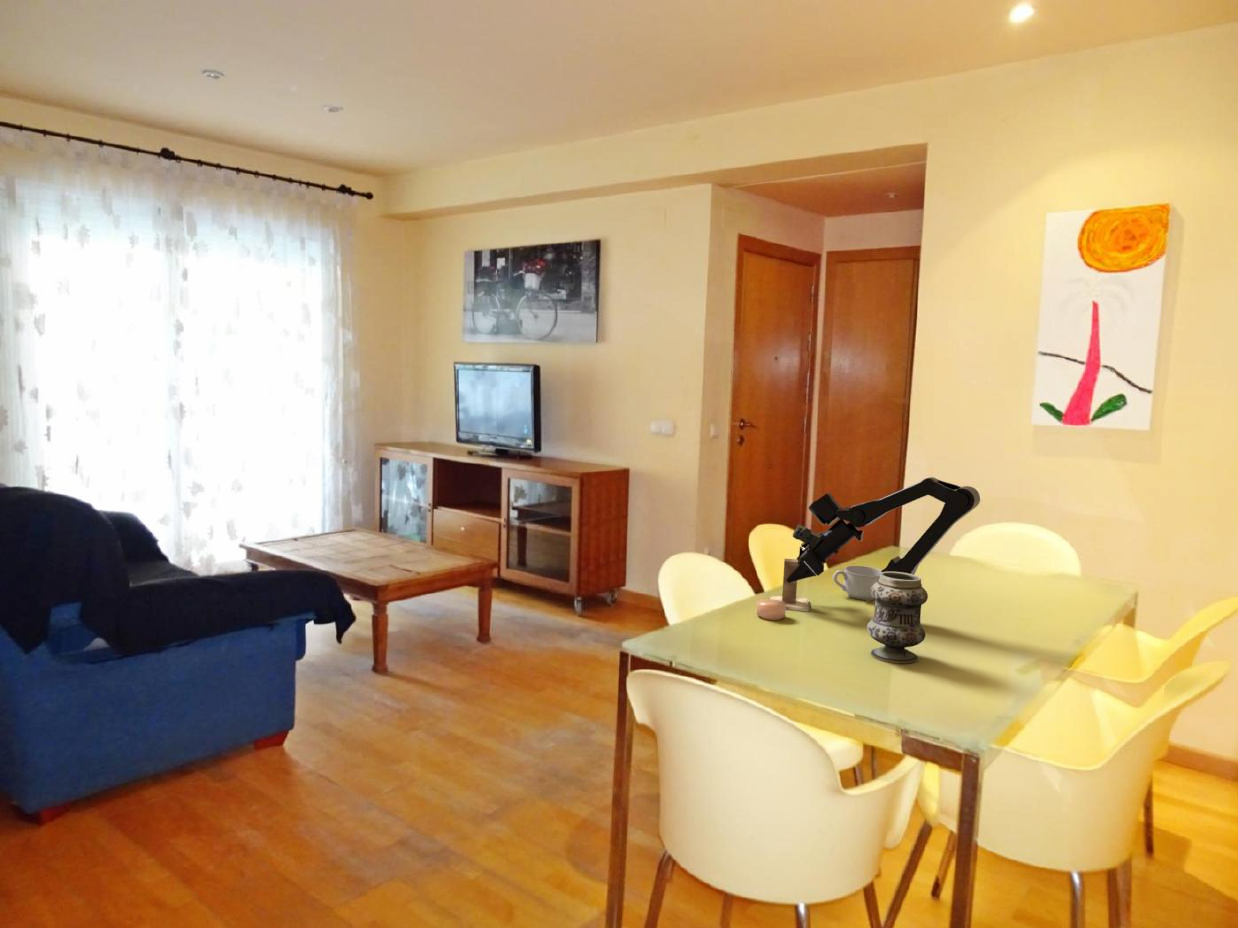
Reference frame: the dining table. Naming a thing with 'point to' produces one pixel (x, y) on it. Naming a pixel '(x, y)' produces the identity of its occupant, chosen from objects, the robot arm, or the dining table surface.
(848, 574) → the teacup
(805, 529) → the robot arm
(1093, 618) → the dining table surface
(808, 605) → the rubber mat
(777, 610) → the pink rounded disc
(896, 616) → the apothecary jar
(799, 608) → the brown wooden post
